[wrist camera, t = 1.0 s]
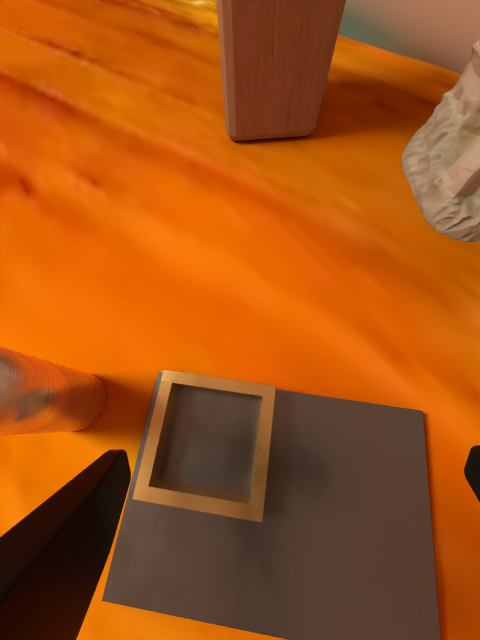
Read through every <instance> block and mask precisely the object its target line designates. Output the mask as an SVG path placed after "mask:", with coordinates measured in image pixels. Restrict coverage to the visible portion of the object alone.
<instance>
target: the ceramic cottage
mask: <svg viewBox="0 0 480 640" xmlns="http://www.w3.org/2000/svg"><path fill="white" fill-rule="evenodd" d="M401 164H402V169H403V171H404V173H405V175H406V178H407V180H408V181H409V182H410V183H409V184H410V186H411V188H412V192H413V194H414V197H415V198H416V200H417V202H418V205H419V208H420V209H421V211H422V213H423V216H424V218H425V220H426V221H427V222H428V224H430V225H431V226H432V227H433V228H434V229H436V230H437V232H440V233H441V234H443V235H446V236H448V237H450V238H453V239H456V240H461V241H463V242H480V38H479V40H478V41H477V43H476V44H475V45H474V46H473V47H472V53H471V60H470V61H469V62H468V63H467V65H466V67H465V69H464V70H463V72H462V74H461V76H460V78H459V79H458V81H457V83H456V85H455V86H454V87H453V88H452V89H451V90H450V91H448V92H446V93H444V94H443V97H442V100H441V103H440V104H438V105H437V106H436V107H435V110H434V112H433V114H432V116H431V117H430V118H429V120H428V121H427V122H426V123H425V124H424V125H423V126H422V127H421V128H420V129H419V130H418V131H417V132H416V133H415V134H414V136H413V137H412V139H411V140H410V141H409V142H408V144H407V146H406V148H405V149H404V152H403V155H402V163H401Z"/></svg>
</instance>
